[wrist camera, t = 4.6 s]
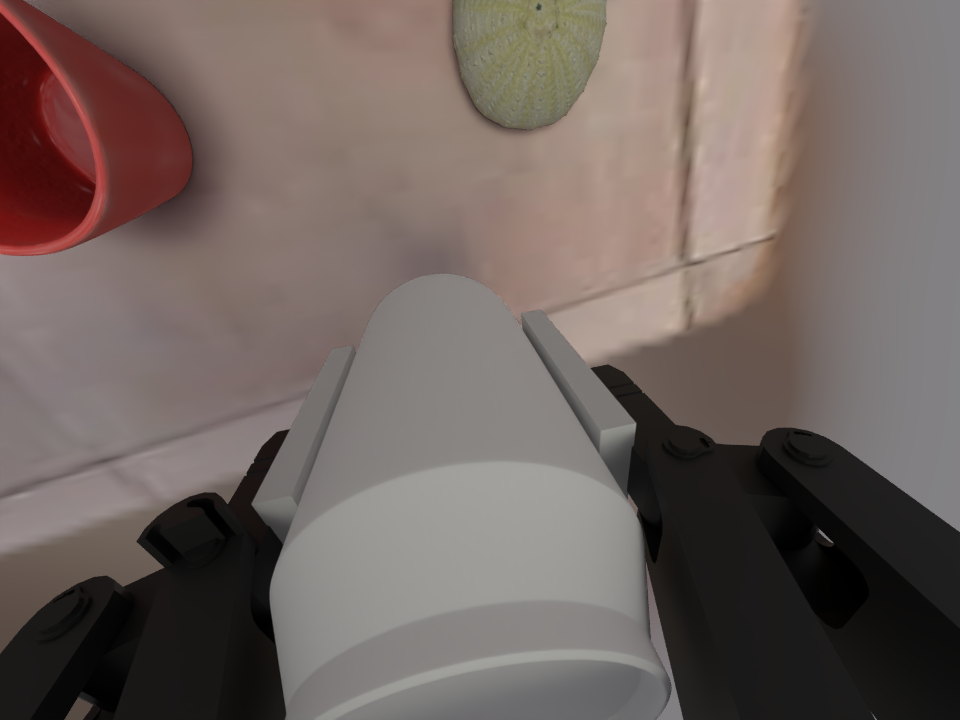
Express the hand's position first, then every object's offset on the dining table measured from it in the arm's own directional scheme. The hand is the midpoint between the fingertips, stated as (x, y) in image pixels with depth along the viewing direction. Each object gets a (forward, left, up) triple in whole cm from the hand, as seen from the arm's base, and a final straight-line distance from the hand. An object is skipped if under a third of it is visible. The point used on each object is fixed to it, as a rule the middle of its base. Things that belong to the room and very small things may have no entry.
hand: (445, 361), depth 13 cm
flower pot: (-18, +11, -17) cm, 27 cm away
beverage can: (0, 0, -2) cm, 2 cm away
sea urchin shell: (+8, +12, -17) cm, 23 cm away
